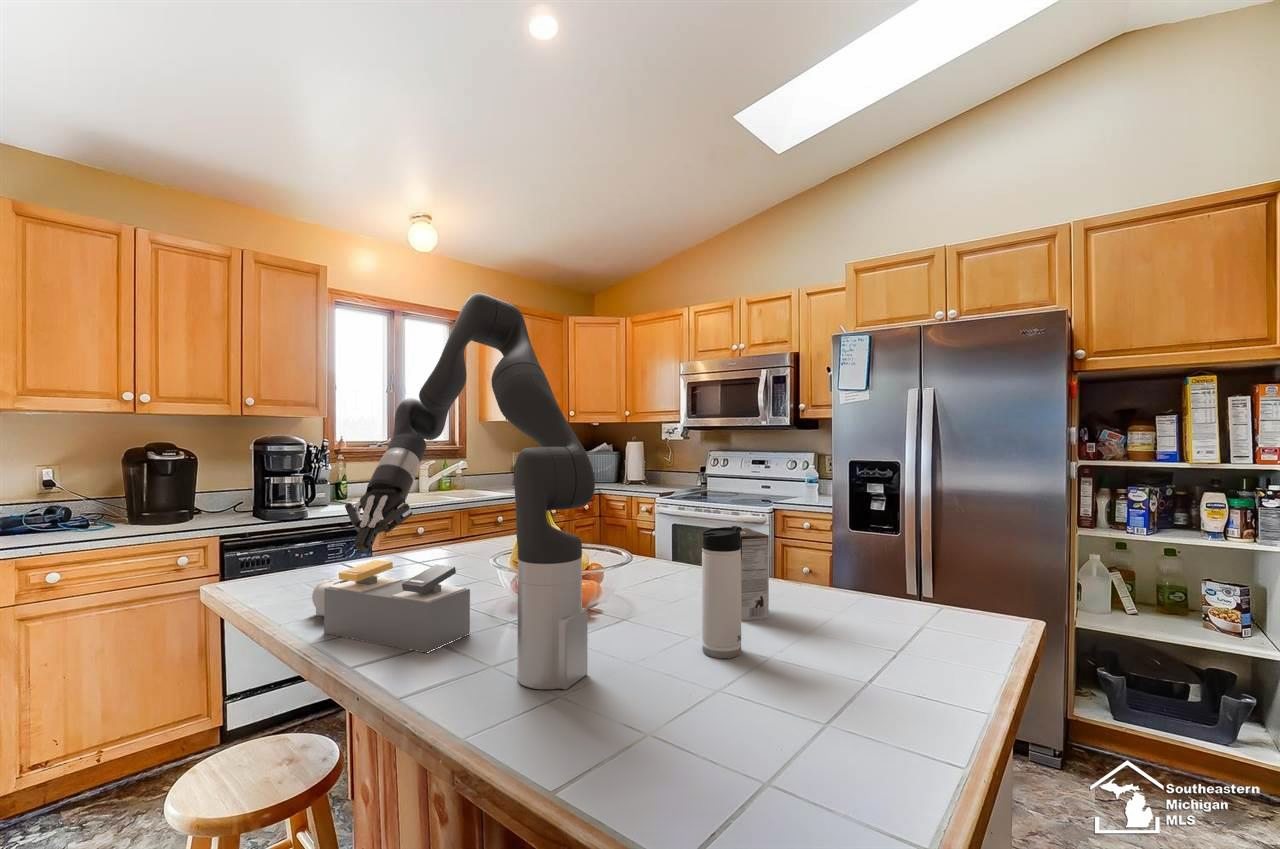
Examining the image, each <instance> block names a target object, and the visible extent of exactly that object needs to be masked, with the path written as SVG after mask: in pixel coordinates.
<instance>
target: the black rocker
mask: <svg viewBox="0 0 1280 849" xmlns="http://www.w3.org/2000/svg"><path fill="white" fill-rule="evenodd" d="M456 574H457V571H456V566H454V565H453V566H451V565H442V564H434V565H433V566H430V567H429V568H427V569H426V570H424V571H422V572H420V573H418V574H416V575H414V576H413V577H411V578H409V579H407V580H406V582H404V583H402V588H403V591H410V592H417V593H424V592H426V591H428V590H429V589H431V588H433V587H434V586H436V585H437V584H440V583H442V582H444V581H446V580H447V579H449V578H450V577H452V576H454V575H456Z"/></svg>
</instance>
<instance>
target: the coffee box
mask: <svg viewBox="0 0 1280 849" xmlns="http://www.w3.org/2000/svg"><path fill="white" fill-rule="evenodd" d="M741 528H742V527H741ZM769 536H770V535H769V534H766V533H763V532H759V531H757V530H754V529H750V528H748V527H746V528H745V527H744V528H742V531H740V548H741V552H740V553H741V622H743V621H745V622H746V621H753V620H762V619H769V616H770V615H769V614H770V613H769V599H770V598H769V587H770V586H769V576H770V574H769V573H770V572H769V570H770V567H769V565H770V564H769V562H770V560H769V558H770V556H769V555H770V552H769V551H770V543H769V542H770V540H769V538H770V537H769Z"/></svg>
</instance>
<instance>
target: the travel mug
mask: <svg viewBox="0 0 1280 849" xmlns="http://www.w3.org/2000/svg"><path fill="white" fill-rule="evenodd" d="M740 531H742V527H741V526H738V525H732V526H731V527H730V526H724V527H722V526H721V527H715V528H710V529H707V530H704V531H703V532H702V535H701V540H702V547H701V551H702V552H701V596H702V598H701V600H702V601H701V602H702V603H701V605H702V606H701V611H702V612H701V614H702V615H701V618H702V619H701V621H702V623H701V624H702V626H701V628H702V629H701V630H702V634H701V635H702V639H701V640H702V652H703V654H705V655H706V656H708V657H711V658H715V659H732V658H736V657H738V656H740V655H741V653H742V621H741V553H740V552H741V548H740Z"/></svg>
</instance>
